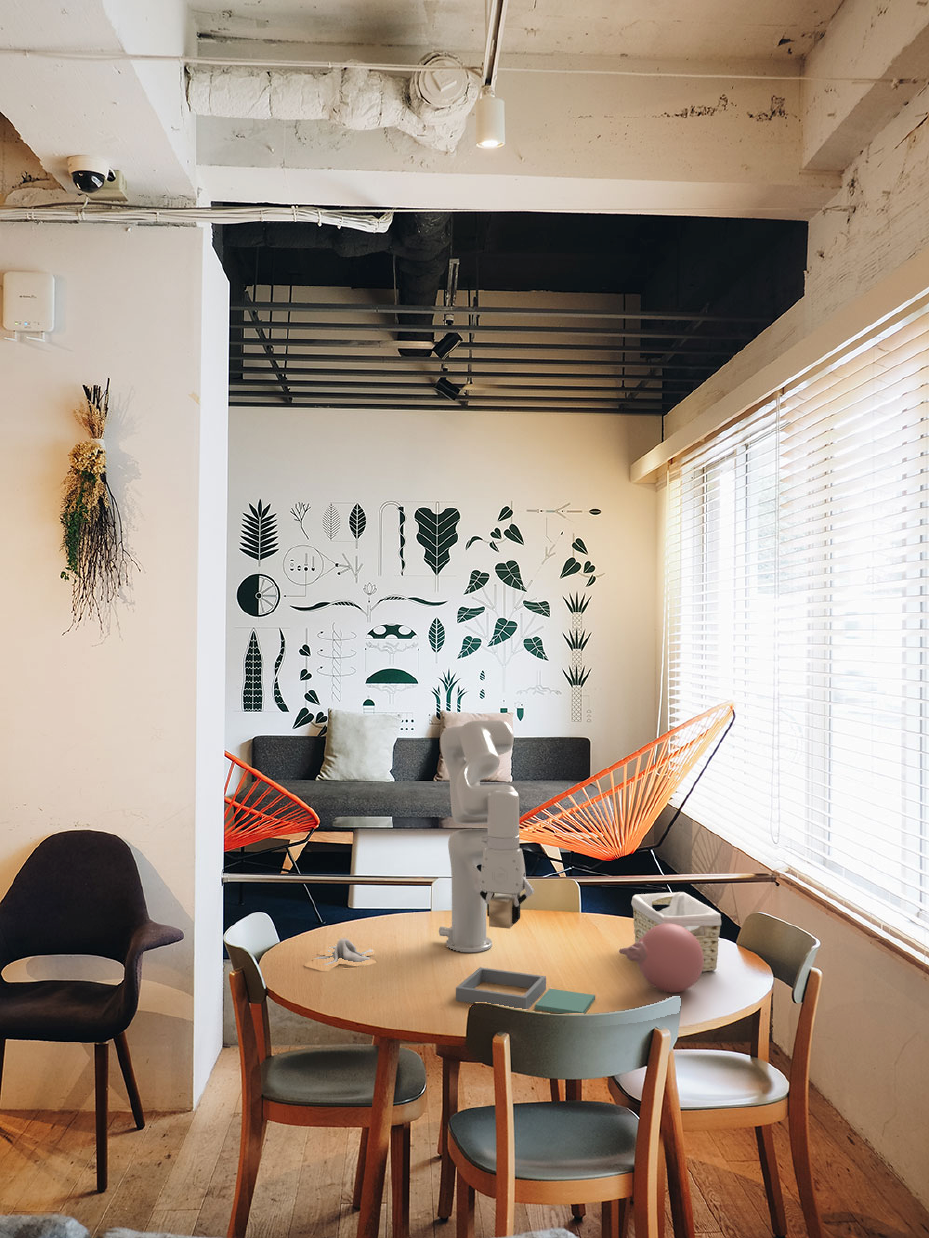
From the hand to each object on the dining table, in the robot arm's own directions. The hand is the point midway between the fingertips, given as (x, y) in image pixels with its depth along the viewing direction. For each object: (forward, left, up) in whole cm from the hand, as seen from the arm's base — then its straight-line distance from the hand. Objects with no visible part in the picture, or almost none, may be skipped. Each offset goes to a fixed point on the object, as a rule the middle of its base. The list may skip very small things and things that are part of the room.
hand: (503, 920), depth 215 cm
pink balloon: (+33, +17, -18) cm, 41 cm away
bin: (-1, 0, -17) cm, 17 cm away
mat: (+15, 0, -17) cm, 23 cm away
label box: (0, 0, -1) cm, 1 cm away
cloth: (-46, +8, -18) cm, 50 cm away
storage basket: (+33, +41, -18) cm, 55 cm away
